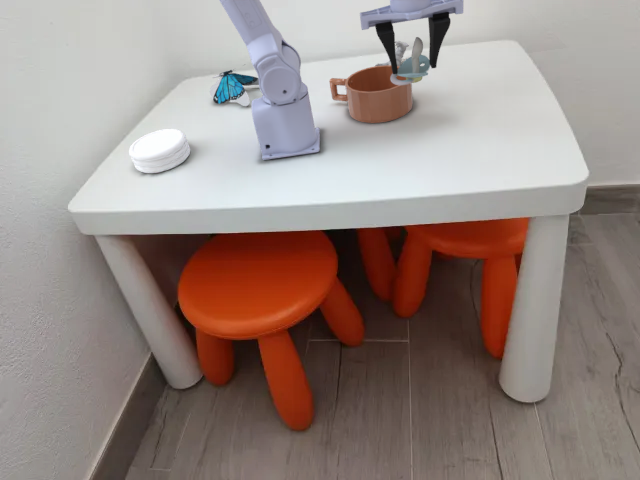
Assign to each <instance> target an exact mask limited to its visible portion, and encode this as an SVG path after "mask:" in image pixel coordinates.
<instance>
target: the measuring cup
mask: <svg viewBox="0 0 640 480" xmlns="http://www.w3.org/2000/svg"><path fill="white" fill-rule="evenodd" d="M399 67H400V66H397V69H399ZM392 73H393V72H392V67H391V65H383V66H374V65H373V66H370V67H366V68H362V69H359V70H357V71H356V72H353V73H352V74H350V75H349V76H348V77H347V78H341V77H339V78H338V77H331V78H330V79H329V88H330V94H331V99H332V100H333V101H337V102H347V108H348V113H349V116H350V117H351V118H352V119H353V120H355V121H357V122H362V123H367V124H375V123H376V124H377V123H378V124H379V123H386V122H390V121H395V120H397V119H400V118H402V117H404V116H405V115H407V114H408V113H409V112H410V111H411V110H412V108H413V105H414V101H413V100H414V99H413V98H414V97H413V83H410V84H407V85H395V84H393V83H392V82H391V80H390V78H391V75H392ZM396 79H398V80H406V77H401V76H397V77H396ZM338 86H341V87H342V86H343V87H345V93H339V92H338Z"/></svg>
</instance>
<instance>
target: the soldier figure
mask: <svg viewBox="0 0 640 480" xmlns="http://www.w3.org/2000/svg"><path fill="white" fill-rule="evenodd" d="M409 46H410V44H408V43H407V42H404V41H400V40H395V55H396V62H397V66H401V64H402V59H403V58H404V55H405V53H406V51H407V48H408V47H409ZM383 65H391V62H390V60H388V61H387V62H382V63H377V64H375V66H383Z"/></svg>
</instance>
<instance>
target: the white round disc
mask: <svg viewBox="0 0 640 480" xmlns="http://www.w3.org/2000/svg"><path fill="white" fill-rule="evenodd" d="M128 154H129V157H130V158H131V161H132V163H133V165H134V168H135V169H136V170H137V171H138V172H141V173H145V174H157V173H158V174H159V173H162V172H166V171H168V170H171V169H174V168H177V167H178V166H180V165H181V164H182V163H184V162H185V161H187V158H188V157H189V156H190V154H191V146H190V145H189V141H188V139H187V136H186V134H185V132H184V131H182V130H179V129H176V128H163V129H158V130H155V131H152V132H149V133H147V134H143V136H141V137H139V138H137V139H136V140H135V141H134V142H133V143H132V144H131V145H130V146H129V148H128Z"/></svg>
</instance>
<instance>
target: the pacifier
mask: <svg viewBox="0 0 640 480" xmlns="http://www.w3.org/2000/svg"><path fill="white" fill-rule="evenodd" d="M423 50H424V41H423V40H422V39H421V38H420V37H419V36H416V37H415V39H414V41H413V46H412V51H411V56H410V57H408V58H406V59H405V60H404V61H403V62H401V66H400V67H399V69H398V73H397V74H393V73H392V75H391V78H390V80H391V82H392V83H393V84H395V85H407V84H410V83H412V84H414V83H419V82H421V81H422V80H423V77H426V76H428V75H429V72H428V71H429V70H430V68H431V66H430V61H429V57H427V55H424V54H422V53H423ZM422 64H423V65H422ZM397 76H401V77H406V80H398V79H396V77H397Z"/></svg>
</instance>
